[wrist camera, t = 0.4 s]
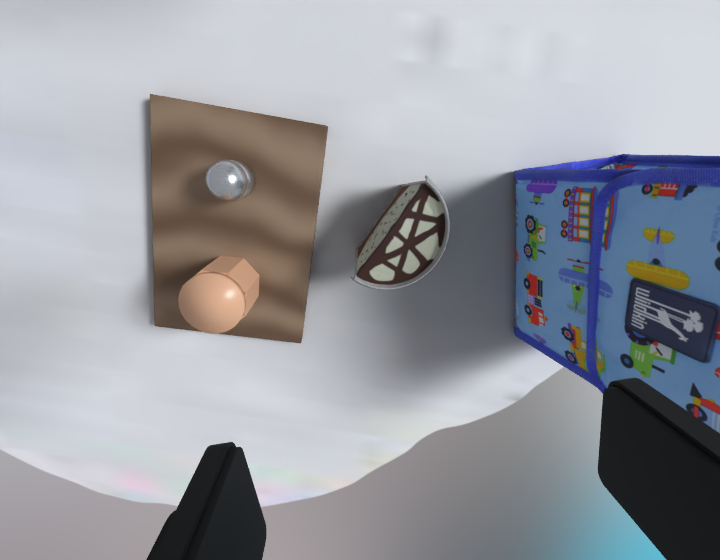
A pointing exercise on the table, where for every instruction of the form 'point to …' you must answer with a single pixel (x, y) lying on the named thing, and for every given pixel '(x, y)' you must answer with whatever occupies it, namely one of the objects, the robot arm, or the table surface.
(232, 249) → the board
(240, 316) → the cap
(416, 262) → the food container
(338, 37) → the table surface
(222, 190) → the stud
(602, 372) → the lunch bag
